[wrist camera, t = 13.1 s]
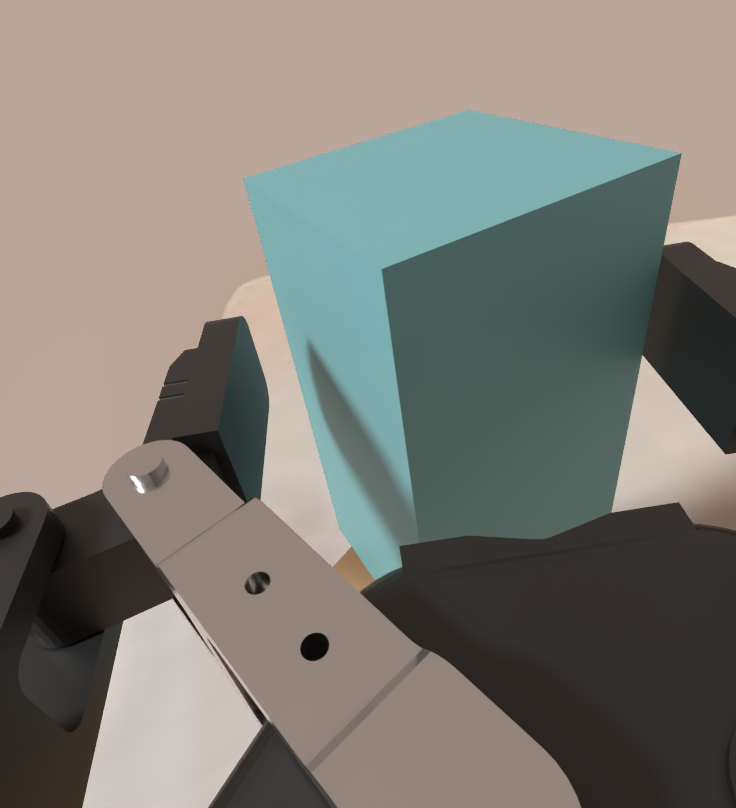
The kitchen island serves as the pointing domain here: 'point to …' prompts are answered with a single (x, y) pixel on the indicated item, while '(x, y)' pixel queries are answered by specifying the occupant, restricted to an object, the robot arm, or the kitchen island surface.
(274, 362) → the kitchen island surface
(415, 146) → the teal pillar
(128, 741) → the kitchen island surface
